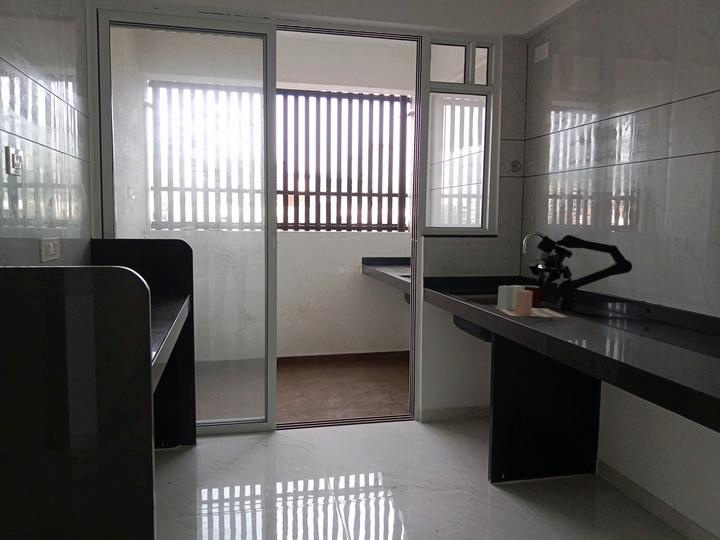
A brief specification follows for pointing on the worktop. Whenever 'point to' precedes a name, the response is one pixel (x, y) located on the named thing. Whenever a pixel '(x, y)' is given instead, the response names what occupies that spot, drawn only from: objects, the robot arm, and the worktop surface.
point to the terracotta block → (524, 302)
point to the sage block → (505, 297)
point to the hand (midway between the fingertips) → (541, 284)
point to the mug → (534, 294)
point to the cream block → (516, 294)
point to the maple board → (536, 312)
